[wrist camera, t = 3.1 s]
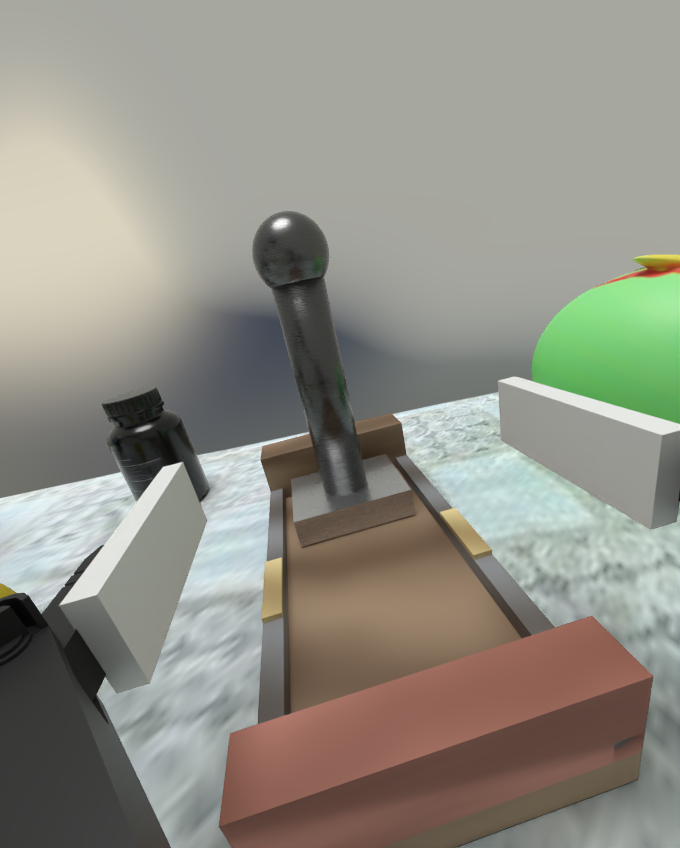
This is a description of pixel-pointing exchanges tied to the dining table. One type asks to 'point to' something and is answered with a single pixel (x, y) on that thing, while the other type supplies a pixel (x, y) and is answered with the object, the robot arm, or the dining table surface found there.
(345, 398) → the press handle
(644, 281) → the toy bird
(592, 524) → the dining table surface
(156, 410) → the supplement bottle
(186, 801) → the dining table surface
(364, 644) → the press base
